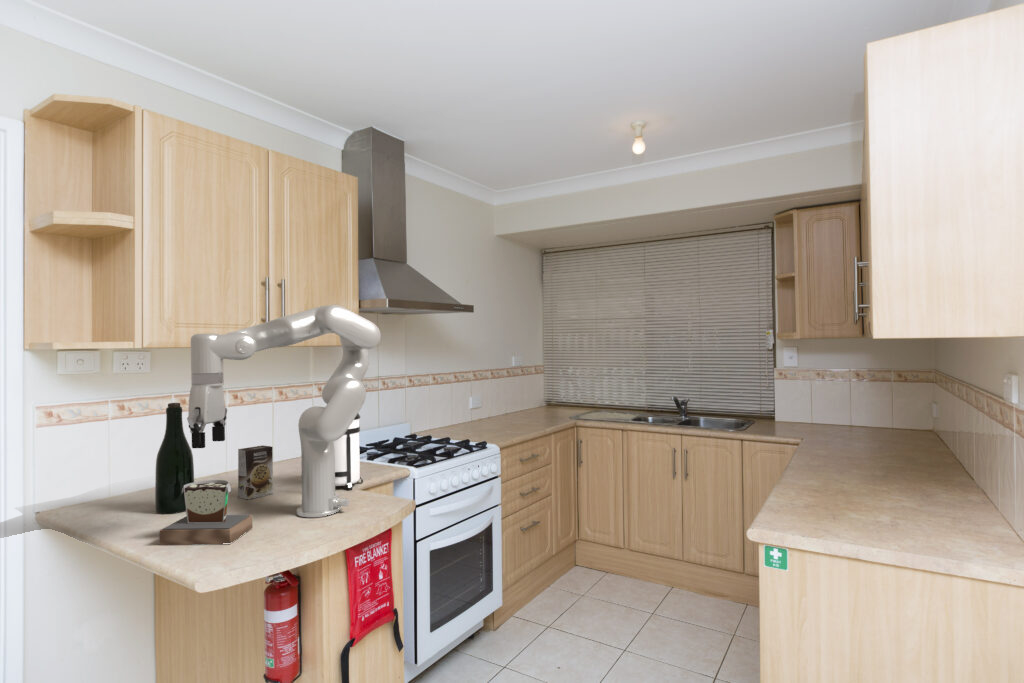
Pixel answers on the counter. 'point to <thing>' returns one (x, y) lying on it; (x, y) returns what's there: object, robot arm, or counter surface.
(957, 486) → the counter surface
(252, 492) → the coffee box
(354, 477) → the coffee press
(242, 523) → the plinth
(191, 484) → the food container
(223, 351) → the robot arm
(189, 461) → the beer bottle
